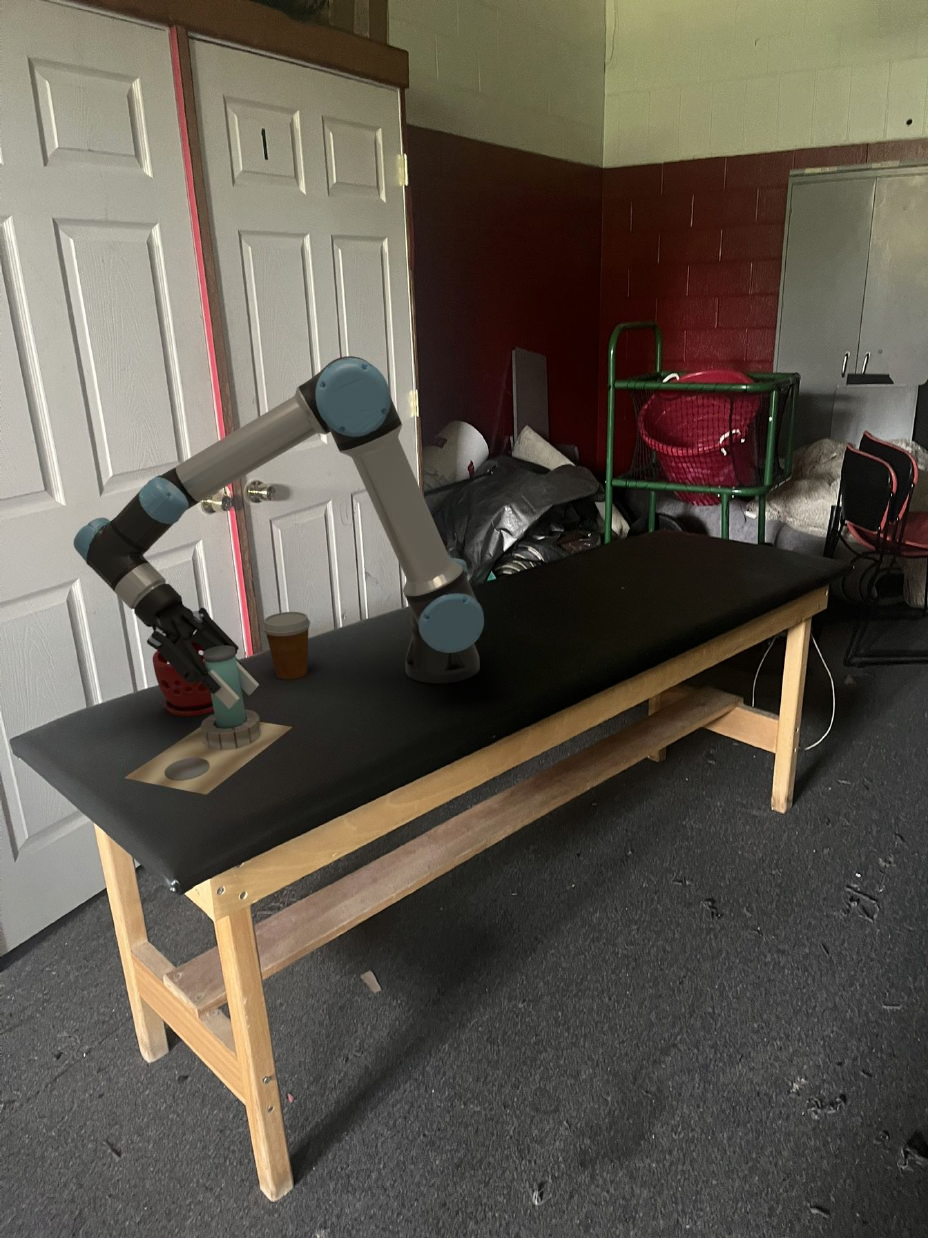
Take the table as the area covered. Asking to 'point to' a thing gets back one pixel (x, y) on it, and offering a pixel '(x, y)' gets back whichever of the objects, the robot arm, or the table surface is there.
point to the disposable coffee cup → (288, 643)
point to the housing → (209, 754)
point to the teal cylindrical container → (227, 670)
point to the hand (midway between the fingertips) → (244, 696)
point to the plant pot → (182, 688)
